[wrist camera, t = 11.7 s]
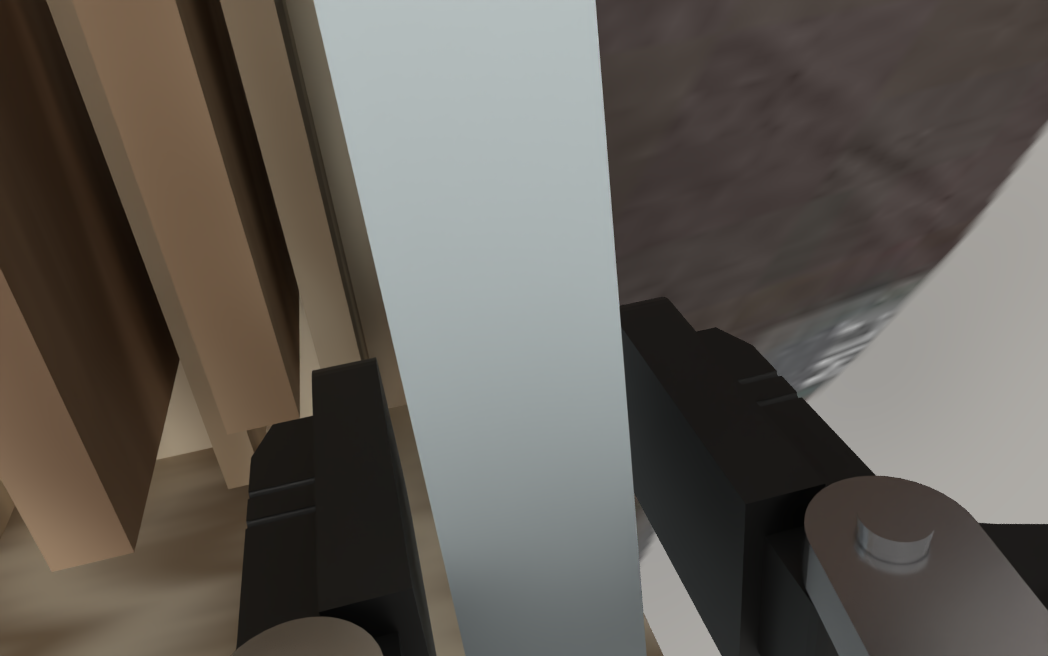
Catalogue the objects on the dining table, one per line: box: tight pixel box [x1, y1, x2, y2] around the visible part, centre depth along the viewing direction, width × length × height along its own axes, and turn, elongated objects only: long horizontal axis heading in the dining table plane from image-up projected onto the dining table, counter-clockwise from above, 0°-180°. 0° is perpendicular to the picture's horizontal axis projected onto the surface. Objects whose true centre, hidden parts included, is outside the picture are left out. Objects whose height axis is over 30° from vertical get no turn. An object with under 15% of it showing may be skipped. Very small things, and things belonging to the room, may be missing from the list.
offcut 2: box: [72, 0, 300, 435], centre depth 19 cm, size 2×10×7 cm, turn 6°
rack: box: [0, 0, 663, 656], centre depth 17 cm, size 18×22×14 cm
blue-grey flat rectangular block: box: [313, 0, 647, 656], centre depth 14 cm, size 2×16×18 cm, turn 7°
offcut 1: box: [0, 0, 180, 572], centre depth 18 cm, size 2×12×9 cm, turn 6°
